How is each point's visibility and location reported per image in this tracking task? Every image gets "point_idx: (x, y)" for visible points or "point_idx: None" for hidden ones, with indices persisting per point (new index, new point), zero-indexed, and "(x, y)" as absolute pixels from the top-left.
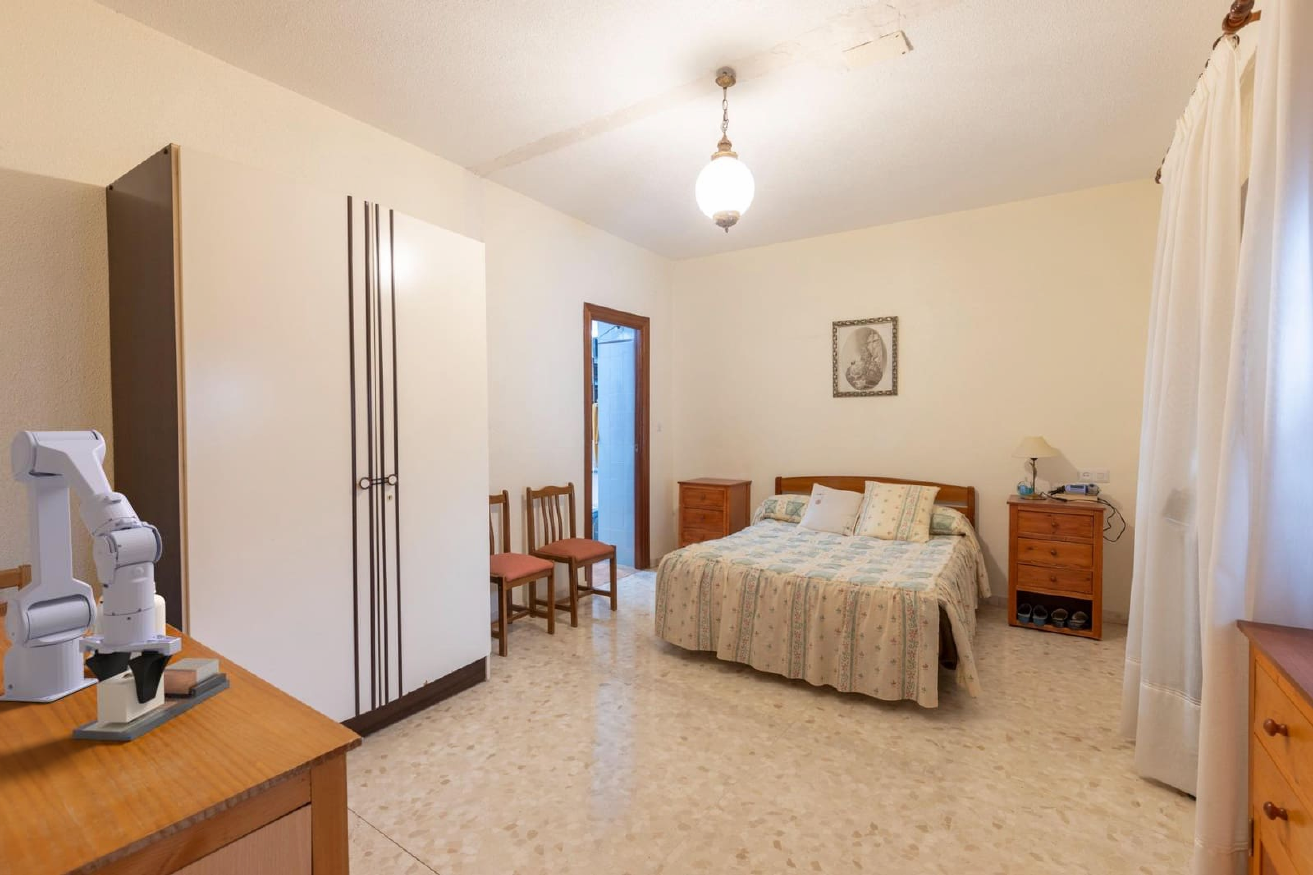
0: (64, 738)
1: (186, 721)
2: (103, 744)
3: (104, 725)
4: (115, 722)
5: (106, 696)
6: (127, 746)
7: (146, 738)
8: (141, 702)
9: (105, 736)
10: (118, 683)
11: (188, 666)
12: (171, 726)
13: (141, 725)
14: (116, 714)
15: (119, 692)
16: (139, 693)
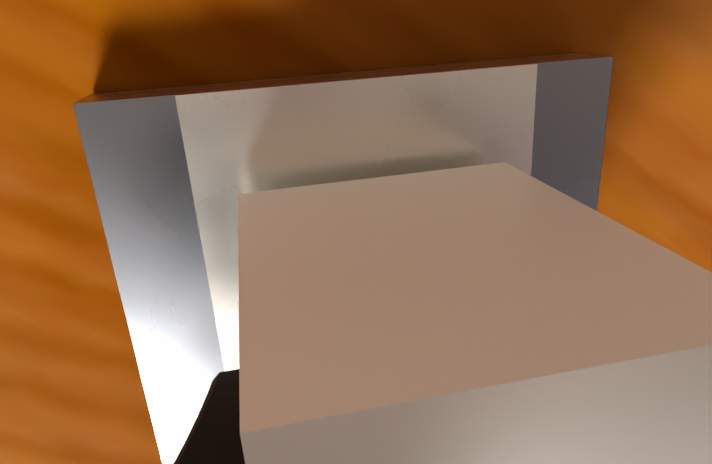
0: (633, 48)
1: (10, 403)
2: (268, 17)
3: (430, 155)
4: None
5: (530, 261)
6: (24, 18)
7: (18, 155)
8: (229, 376)
9: (323, 77)
10: (442, 429)
11: None
12: (39, 329)
13: (131, 224)
14: (344, 202)
15: (350, 322)
16: (215, 433)
